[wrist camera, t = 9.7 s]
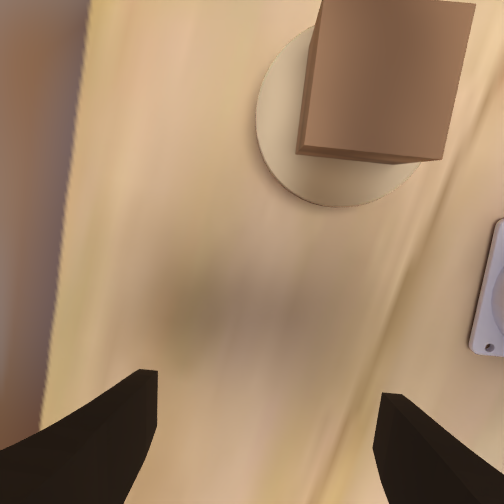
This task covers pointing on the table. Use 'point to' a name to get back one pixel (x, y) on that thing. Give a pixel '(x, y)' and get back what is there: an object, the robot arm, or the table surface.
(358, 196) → the birch round
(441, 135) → the walnut cube
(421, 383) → the table surface
